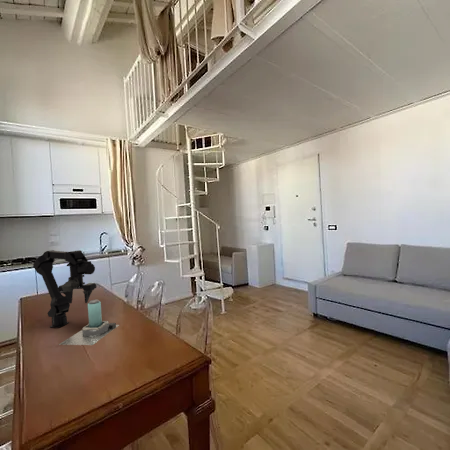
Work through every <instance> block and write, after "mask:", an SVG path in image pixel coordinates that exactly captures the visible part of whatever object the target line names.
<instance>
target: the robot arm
mask: <svg viewBox="0 0 450 450" xmlns="http://www.w3.org/2000/svg"><path fill="white" fill-rule="evenodd" d="M55 259H56V260H57V259H58V260H64V261H65V262H68V263H67V264H66V267H69V277H68V280H67V281H66V282H65V283H63V284H61V285H58V284H57V280H56V278H55V276H54V274H53V268H54V263H55V261H56V260H55ZM32 266H33V267H32V268H34V270H35V272H36V273H37V274H38V275H40V276H41V277H42V280H43V281H44V285H45V287H46V289H47V292H48V295H49V296H50V298H51V300H50V304H49V305H50V309H49V310H48V312H47V316H48V318H51V325H50V326H49V328H62V327H64V326H65V325H67V324H69V322H68V320H67V319H68V318H67V314H66V313H69V311H70V306H71V304H72V303H73V296H74V295H73V292H74V290H83V291H82V293H83V294H84V303H85V304H88V303H89V301H90V300H89V299H90V296H91V295H92V293H93V291H94V290H95V289H97V284H96V283H95V282H89V283H86V282H84V279H83V278H85V275H93V274H94V273H95V270H96V267H95V265H94V264H93V263H92V261H90V260H88V258H87V257H86V256H85V254H84V252H83V251H82V250H79V249H78V250H73V251H64V250H63V251H62V250H61V251H60V250H53V249H51V250H46V251H44V252H43V254H42V255H40V256H39V257H37V258H36V259H35V261H34V262H33V264H32ZM63 294H64V295H63Z"/></svg>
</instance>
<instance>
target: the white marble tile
mask: <svg viewBox="0 0 450 450" xmlns="http://www.w3.org/2000/svg"><path fill="white" fill-rule="evenodd" d="M119 326H120V324H116V322H109V320H102V325H101V326H100V327H98V328H89V323H88V324H87V325H85V326H83V327H82V329H81V330H80V331H78V332H77V333H74V334H73V335H71V336H70V337H68V338H66V339H65V340H63V341H62V342H59V344H58V346H61V345H62V346H94V345H95V344H96V343H98V342H99V341H100V340H101V339H104V337H105V336H107V335H108V334H109V333H111V332H112V331H114V330H115V329H116V328H118V327H119Z"/></svg>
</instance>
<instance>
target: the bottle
mask: <svg viewBox="0 0 450 450" xmlns="http://www.w3.org/2000/svg"><path fill="white" fill-rule="evenodd" d="M87 315H88V324H89V328H98V327H100V326H101V325H102V321H103V319H102V317H103V316H102V302H101V301H100V300H99V299H92V300H88V302H87Z"/></svg>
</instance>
